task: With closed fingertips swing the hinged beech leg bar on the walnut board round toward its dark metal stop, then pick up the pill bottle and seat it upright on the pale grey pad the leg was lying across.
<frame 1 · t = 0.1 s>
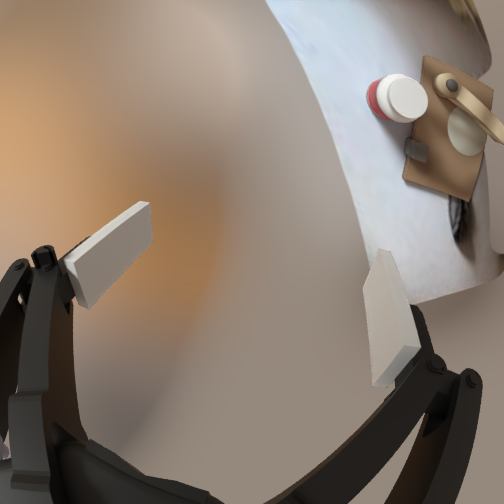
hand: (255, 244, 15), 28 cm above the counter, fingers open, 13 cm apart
pill bottle: (385, 98, 30), on the counter
board: (450, 129, 29), on the counter
leg bar: (474, 108, 23), point 4 cm above the counter, hinge at 75.0°
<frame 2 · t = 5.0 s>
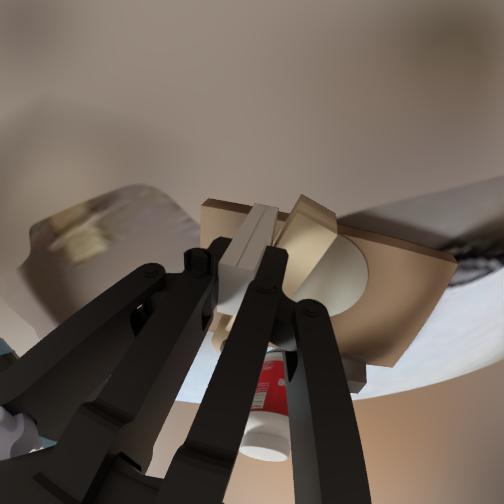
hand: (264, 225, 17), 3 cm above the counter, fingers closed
pill bottle: (283, 364, 29), on the counter
board: (320, 293, 22), on the counter
leg bar: (264, 296, 19), point 4 cm above the counter, hinge at 71.6°, touching gripper
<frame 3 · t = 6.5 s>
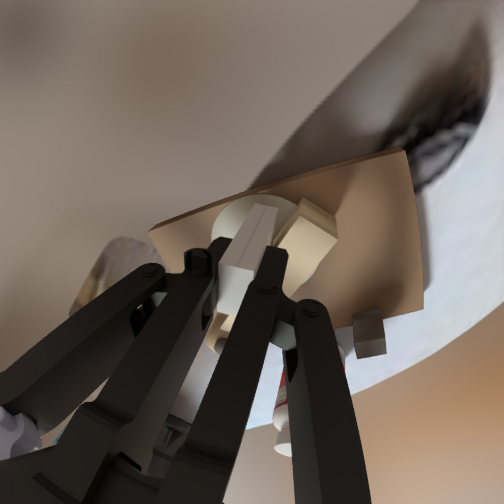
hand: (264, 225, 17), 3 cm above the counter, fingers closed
pill bottle: (315, 352, 27), on the counter
board: (291, 262, 21), on the counter
leg bar: (261, 296, 19), point 4 cm above the counter, hinge at 39.4°, touching gripper
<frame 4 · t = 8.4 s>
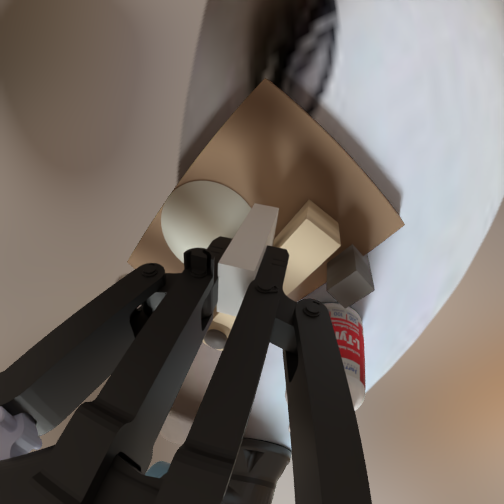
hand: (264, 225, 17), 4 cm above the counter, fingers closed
pill bottle: (330, 322, 24), on the counter
board: (245, 236, 21), on the counter
leg bar: (256, 292, 19), point 4 cm above the counter, hinge at 7.0°
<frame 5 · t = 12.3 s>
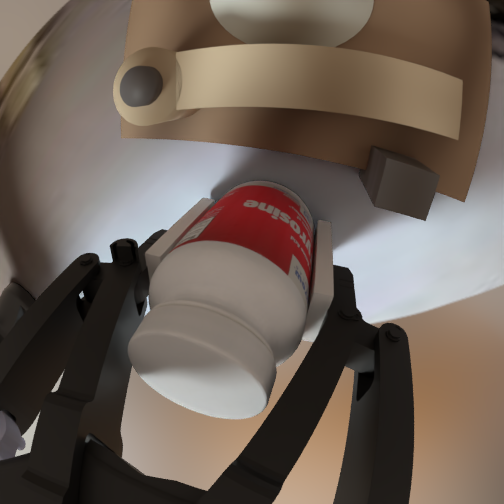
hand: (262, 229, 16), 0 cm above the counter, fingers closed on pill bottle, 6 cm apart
pill bottle: (264, 224, 17), on the counter, touching gripper
board: (307, 36, 10), on the counter
leg bar: (279, 77, 9), point 4 cm above the counter, hinge at 5.5°
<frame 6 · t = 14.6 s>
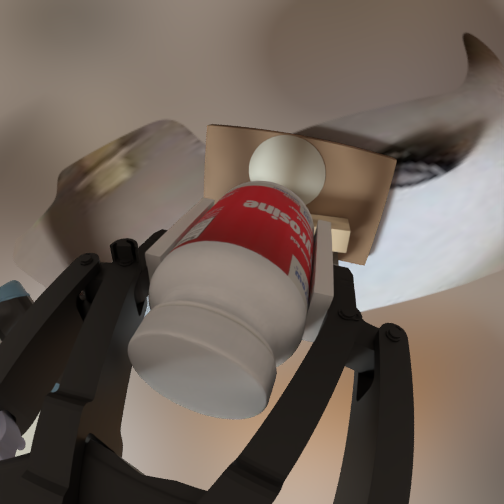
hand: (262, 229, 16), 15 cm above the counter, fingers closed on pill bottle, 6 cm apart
pill bottle: (264, 225, 17), point 14 cm above the counter, touching gripper
board: (293, 192, 30), on the counter
leg bar: (279, 228, 28), point 4 cm above the counter, hinge at 5.5°
when the fingers open (3 cm above the counter, at t = 16.9 s): pill bottle drops 1 cm, resting on board.
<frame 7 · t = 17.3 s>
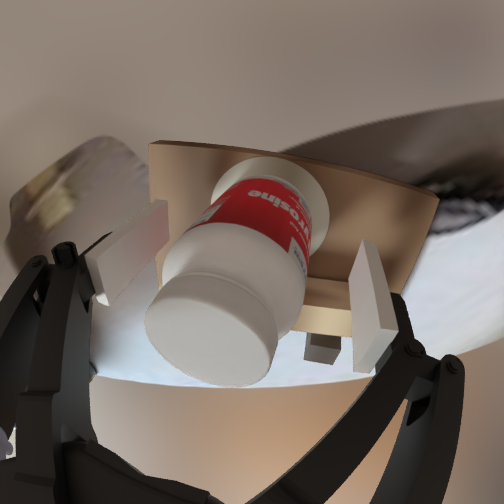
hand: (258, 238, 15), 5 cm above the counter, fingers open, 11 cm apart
pill bottle: (266, 215, 18), point 1 cm above the counter, touching board
board: (280, 241, 20), on the counter
leg bar: (257, 300, 19), point 4 cm above the counter, hinge at 5.5°
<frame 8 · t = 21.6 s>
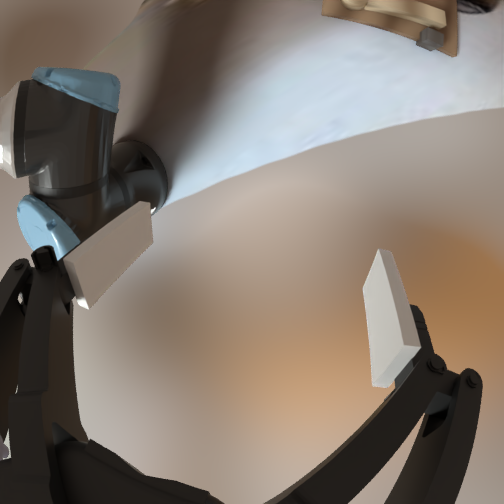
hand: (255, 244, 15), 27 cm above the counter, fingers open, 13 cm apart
leg bar: (394, 4, 19), point 4 cm above the counter, hinge at 5.5°
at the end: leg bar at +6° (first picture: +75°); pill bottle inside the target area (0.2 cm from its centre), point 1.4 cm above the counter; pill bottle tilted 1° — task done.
